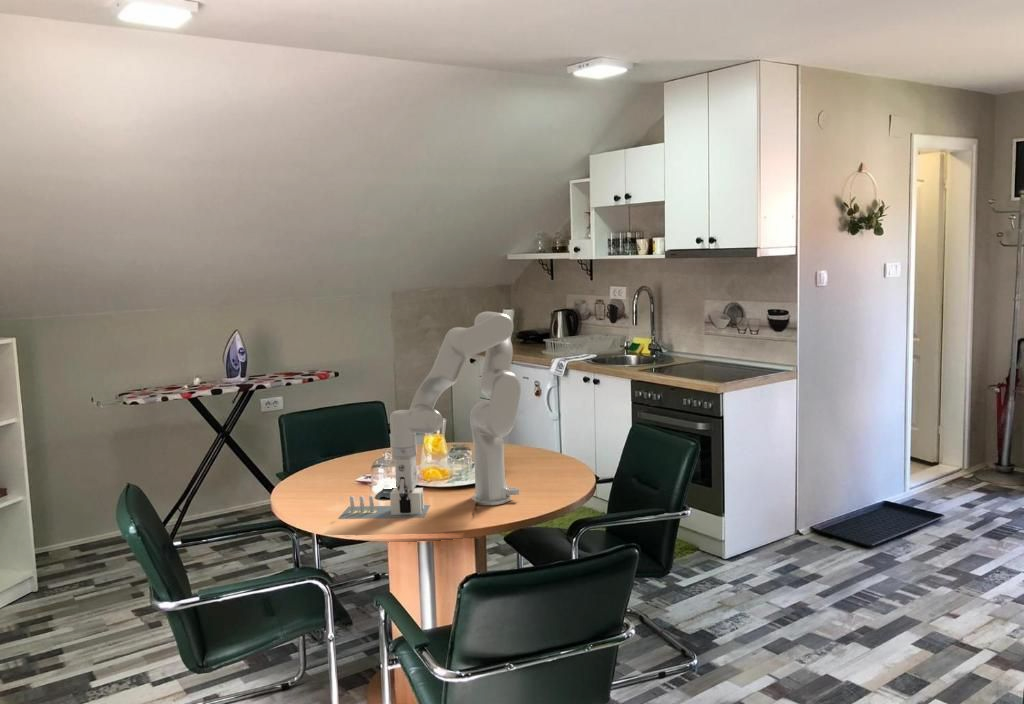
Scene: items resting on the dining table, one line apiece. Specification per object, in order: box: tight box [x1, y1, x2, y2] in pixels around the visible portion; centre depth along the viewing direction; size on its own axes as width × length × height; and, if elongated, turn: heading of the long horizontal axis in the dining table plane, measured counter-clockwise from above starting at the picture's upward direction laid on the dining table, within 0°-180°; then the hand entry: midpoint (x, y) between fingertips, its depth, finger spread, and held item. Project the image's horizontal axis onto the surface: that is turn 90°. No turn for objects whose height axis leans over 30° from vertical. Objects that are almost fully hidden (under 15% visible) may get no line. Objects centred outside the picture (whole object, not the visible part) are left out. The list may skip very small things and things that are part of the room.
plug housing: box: [389, 487, 425, 515], centre depth 255 cm, size 9×6×6 cm, turn 86°
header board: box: [337, 495, 431, 520], centre depth 256 cm, size 26×12×6 cm, turn 86°
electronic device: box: [375, 488, 394, 500], centre depth 276 cm, size 9×6×15 cm
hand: (407, 508), depth 255 cm, fingers closed on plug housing, 5 cm apart
